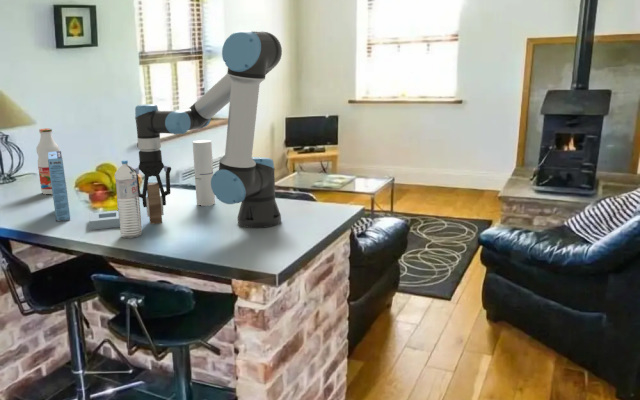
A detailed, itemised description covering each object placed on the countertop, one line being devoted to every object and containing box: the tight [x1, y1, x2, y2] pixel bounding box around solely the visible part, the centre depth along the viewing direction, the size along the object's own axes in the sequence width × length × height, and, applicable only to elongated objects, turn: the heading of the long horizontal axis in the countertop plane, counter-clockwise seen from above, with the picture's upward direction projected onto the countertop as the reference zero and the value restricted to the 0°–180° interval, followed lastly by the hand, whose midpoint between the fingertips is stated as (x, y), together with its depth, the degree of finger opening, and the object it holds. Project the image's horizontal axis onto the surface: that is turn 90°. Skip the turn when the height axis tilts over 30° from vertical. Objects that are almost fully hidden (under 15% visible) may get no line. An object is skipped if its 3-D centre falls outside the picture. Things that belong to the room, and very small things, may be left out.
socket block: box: [88, 210, 120, 231], centre depth 213 cm, size 12×12×3 cm
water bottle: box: [114, 159, 143, 239], centre depth 196 cm, size 7×7×25 cm
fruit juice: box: [35, 128, 60, 195], centre depth 262 cm, size 9×9×28 cm
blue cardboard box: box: [48, 150, 71, 221], centre depth 224 cm, size 20×5×23 cm, turn 23°
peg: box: [146, 181, 163, 225], centre depth 213 cm, size 4×4×14 cm
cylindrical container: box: [192, 139, 216, 207], centre depth 236 cm, size 7×7×25 cm
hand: (155, 214), depth 214 cm, fingers closed on peg, 4 cm apart
